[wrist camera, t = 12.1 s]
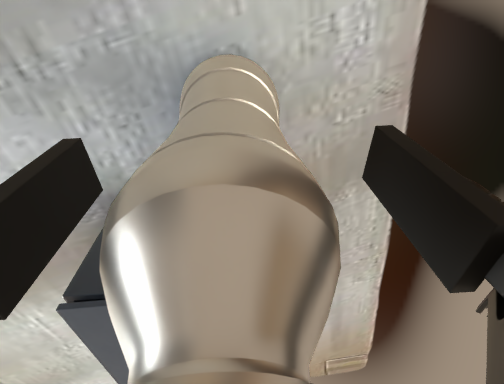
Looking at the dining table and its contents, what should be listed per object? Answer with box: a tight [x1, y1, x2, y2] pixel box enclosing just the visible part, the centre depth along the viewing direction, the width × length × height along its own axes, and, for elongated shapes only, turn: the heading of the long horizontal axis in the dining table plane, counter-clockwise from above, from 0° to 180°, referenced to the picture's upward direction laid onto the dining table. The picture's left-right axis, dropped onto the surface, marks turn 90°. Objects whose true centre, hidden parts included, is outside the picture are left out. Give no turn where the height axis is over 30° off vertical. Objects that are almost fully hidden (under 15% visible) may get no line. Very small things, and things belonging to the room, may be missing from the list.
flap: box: [56, 300, 129, 384], centre depth 18 cm, size 7×13×1 cm, turn 1°
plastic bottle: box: [100, 54, 341, 384], centre depth 11 cm, size 6×7×20 cm
